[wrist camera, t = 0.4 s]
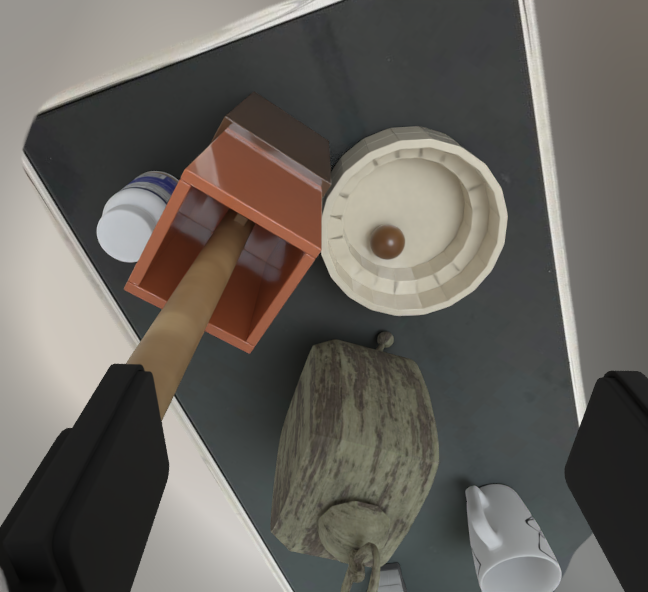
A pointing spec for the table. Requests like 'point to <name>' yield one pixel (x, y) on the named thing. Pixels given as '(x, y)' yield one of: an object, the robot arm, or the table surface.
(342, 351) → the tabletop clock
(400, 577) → the jigsaw machine
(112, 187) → the table surface
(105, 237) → the pill bottle
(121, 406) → the robot arm
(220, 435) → the table surface
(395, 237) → the brown ball
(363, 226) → the bowl
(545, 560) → the mug
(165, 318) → the stirring stick
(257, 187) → the brown boxy piece
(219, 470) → the table surface
